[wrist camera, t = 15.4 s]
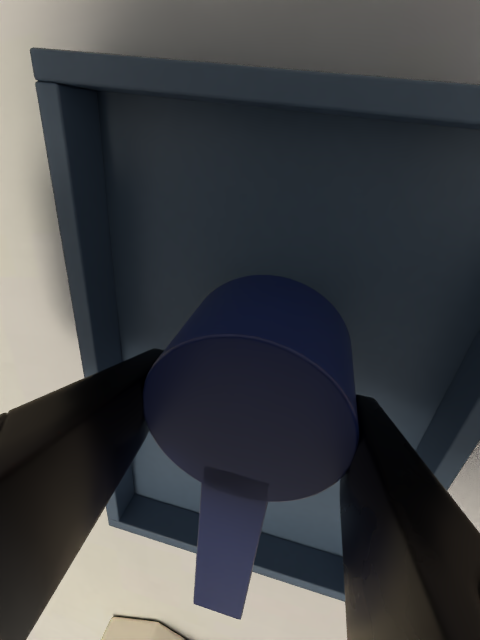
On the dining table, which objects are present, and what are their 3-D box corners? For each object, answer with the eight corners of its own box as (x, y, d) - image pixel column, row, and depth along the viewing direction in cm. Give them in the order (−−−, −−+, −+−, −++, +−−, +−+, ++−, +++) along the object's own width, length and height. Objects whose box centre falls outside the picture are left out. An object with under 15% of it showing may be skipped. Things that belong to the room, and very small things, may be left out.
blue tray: (366, 560, 16) (369, 610, 14) (129, 488, 18) (108, 525, 16) (612, 110, 7) (701, 102, 5) (85, 63, 9) (27, 46, 7)
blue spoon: (293, 538, 13) (284, 636, 11) (186, 505, 14) (152, 590, 11) (373, 292, 8) (392, 367, 5) (194, 259, 9) (134, 312, 6)
